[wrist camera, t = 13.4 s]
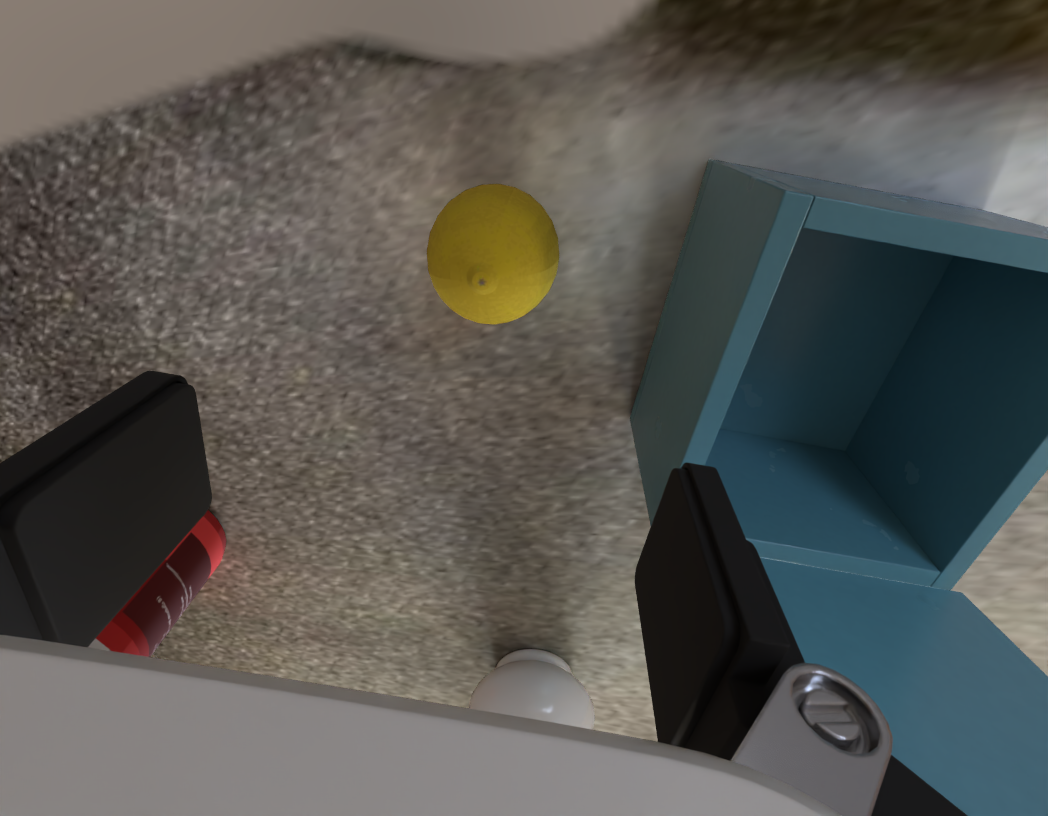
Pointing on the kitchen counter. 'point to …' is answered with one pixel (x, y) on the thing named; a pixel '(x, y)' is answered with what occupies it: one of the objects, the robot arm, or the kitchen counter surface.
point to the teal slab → (930, 682)
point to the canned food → (165, 592)
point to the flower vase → (535, 690)
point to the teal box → (851, 372)
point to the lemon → (492, 254)
